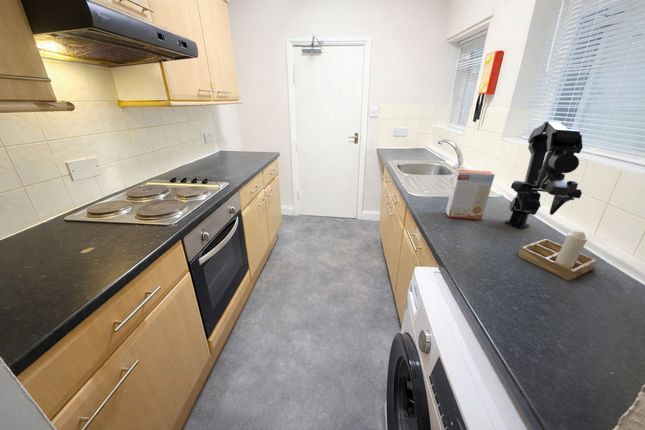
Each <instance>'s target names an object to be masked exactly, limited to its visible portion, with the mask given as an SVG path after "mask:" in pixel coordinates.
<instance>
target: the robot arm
mask: <svg viewBox="0 0 645 430" xmlns="http://www.w3.org/2000/svg"><path fill="white" fill-rule="evenodd" d="M527 143H528V147H527V149H528V151H529V153H530V158H529V163H528V167H527V170H526V175H525V178H524V181H522V180H514V181H513V182H512V183H511V186H510V189H512V190H513V192H516V194H515V196H514V198H513V199H512V200H511V201H510V204H509V207H508V208H509V210H510V212H512V213H511V214H510V218H509V220H505V221H504V223H506V224H508V225H510V226H513V227H514V228H518V229H523V228H527V227H529V226H530V225H529V224H528V223H527V221H528V219H529V217H530V215H532V216H536V214H537V213H538V211H539V209H540V207H541V206H542V205H541V201H540V200H541V193H540V192H544V193H547V194H549V195H551V196H553V199H552V202H551V206H550V210H549V215H551V216H553V215H554V214H555V213H556V212H557V211H559V209H560V208H561V207H562V206H563V205H565V204H566V203H567V202H570V201H574V200H575V199H581V197H582V194H583V192H582V190H581V189H580V188H578V186H579V182H578V181H576V180H569V181H568V180H565V177H566V174H569V173H573V172H574V171H575V170H576V169H577V168H578V167H579V165H580V160H579V157H577V156H576V155H575V154H580V153H581V151H582V150H583V149H584V148H583V146H584V145H583V134H581V131H580V130H579V129H569V128H567V127H565V126H564V125H563V123H562V122H560V121H549V120H547V121H544V122H543V124H542V125H540V126H538V127H536V128H534V129H533V130H532V132H531V133H530V135H529V137H528V139H527Z"/></svg>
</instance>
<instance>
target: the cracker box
mask: <svg viewBox="0 0 645 430" xmlns="http://www.w3.org/2000/svg"><path fill="white" fill-rule="evenodd" d="M495 176H496V174H495V173H493V172H491V171H488V170H473V169H460V168H459V169H458V168H456V169H455V171H454V175H453V179H452V183H451V187H450V192H449V197H448V201H447V204H446V209H445V214H446V216H447V217H448V218H453V219H454V218H456V219H465V220H477V221H482V219H483V216H484V212H485V208H486V206H487V202H488V200H489V195H490V192H491V189H492V187H493V183H494V179H495Z"/></svg>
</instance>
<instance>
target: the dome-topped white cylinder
mask: <svg viewBox="0 0 645 430" xmlns="http://www.w3.org/2000/svg"><path fill="white" fill-rule="evenodd" d="M588 239H589V238H588V237H587V236H586V234H585V233H584V231H581V230H574V231H572V232H568V233H567V235H566V237H565V239H564V241H563V243H562V244H561V245H562V247H561V250H560V252H559V254H558V256H557V258H556V260H555V262H556V263H558V264H561V265H563V266H565V267H567V268H569V269H571V270H572V268H573V266H574V264H575V262H576V260H577V258H578V256H579V255H580V253H581V254H582V251H583V249H584V247H585V245H586V244H587V242H588Z"/></svg>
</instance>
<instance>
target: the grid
mask: <svg viewBox="0 0 645 430" xmlns="http://www.w3.org/2000/svg"><path fill="white" fill-rule="evenodd" d="M562 245H563V244H560V243H558V242H555V241H553V240H550V239H548V238H544V239H543V238H542V239H541V240H538V241H535V242H531V243H530V244H526V245H524V246H521V247H520V250H519V253H518V255H517V256H518V257H520V258H522V259H524V260H526V261H528V262H530V263H532V264H533V265H536V266H538V267H539V268H542V269H544V270H546V271H548V272H550V273H552V274H554V275H556V276H558V277H560V278H562V279H564V280H566V281H568V282H569V281H571V280H573V279H575V278H578V277H579V276H581V275H583V274H585V273H587V272H589V271H591V270H593V269H594V267H595V266H596V264H597V262H598V259H596V258H593V257H592V256H591V257H590V256H589V255H586V254H583V253H582V252H581V253H580V255H579V256H578V258H577V260H576V262H575V264H574V266H573V268H572V270H571V269H569V268H567V267H565V266H563V265H561V264H558V263H556V262H555V260H556V258H557V256H558V254H559V252H560V250H561V247H562Z"/></svg>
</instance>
